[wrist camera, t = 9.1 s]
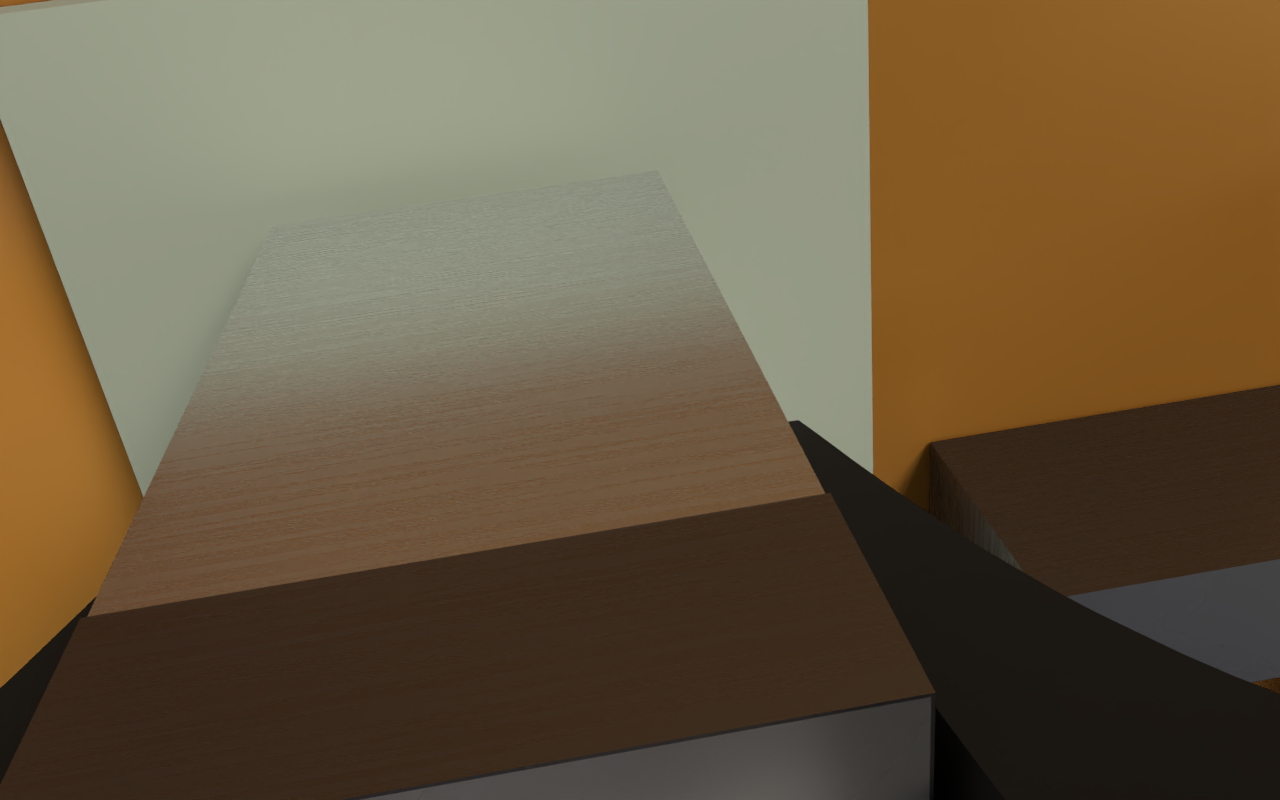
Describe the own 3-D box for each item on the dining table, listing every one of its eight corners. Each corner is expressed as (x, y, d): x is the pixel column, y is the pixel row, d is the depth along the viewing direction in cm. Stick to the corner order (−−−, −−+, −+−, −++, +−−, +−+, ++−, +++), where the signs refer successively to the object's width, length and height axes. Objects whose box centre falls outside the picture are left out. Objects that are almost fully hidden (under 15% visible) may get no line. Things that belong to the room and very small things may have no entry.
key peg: (692, 491, 14) (925, 1208, 7) (357, 547, 13) (237, 1353, 6) (659, 167, 12) (936, 692, 5) (269, 224, 12) (-40, 866, 5)
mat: (860, 571, 16) (874, 597, 16) (232, 680, 16) (223, 710, 15) (849, -105, 12) (866, -100, 12) (-14, 9, 12) (-38, 18, 11)
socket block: (1409, 791, 20) (1575, 966, 17) (923, 884, 20) (1006, 1082, 17) (1545, 341, 16) (1798, 467, 13) (930, 441, 16) (1044, 599, 12)
